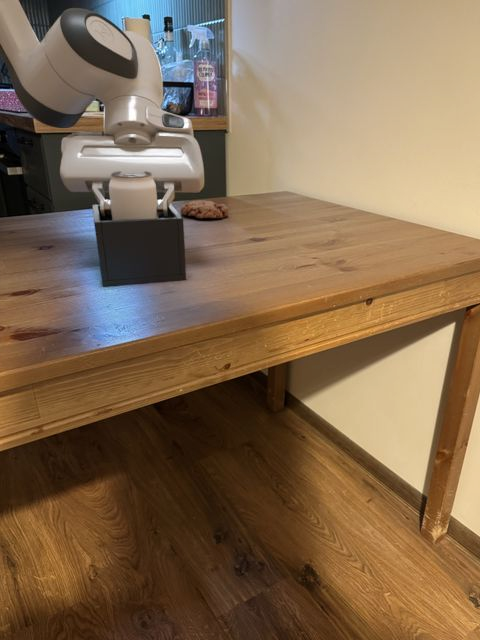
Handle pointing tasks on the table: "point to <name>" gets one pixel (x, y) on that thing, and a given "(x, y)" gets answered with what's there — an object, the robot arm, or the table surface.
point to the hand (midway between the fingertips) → (134, 214)
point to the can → (133, 196)
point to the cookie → (204, 209)
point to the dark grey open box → (140, 248)
